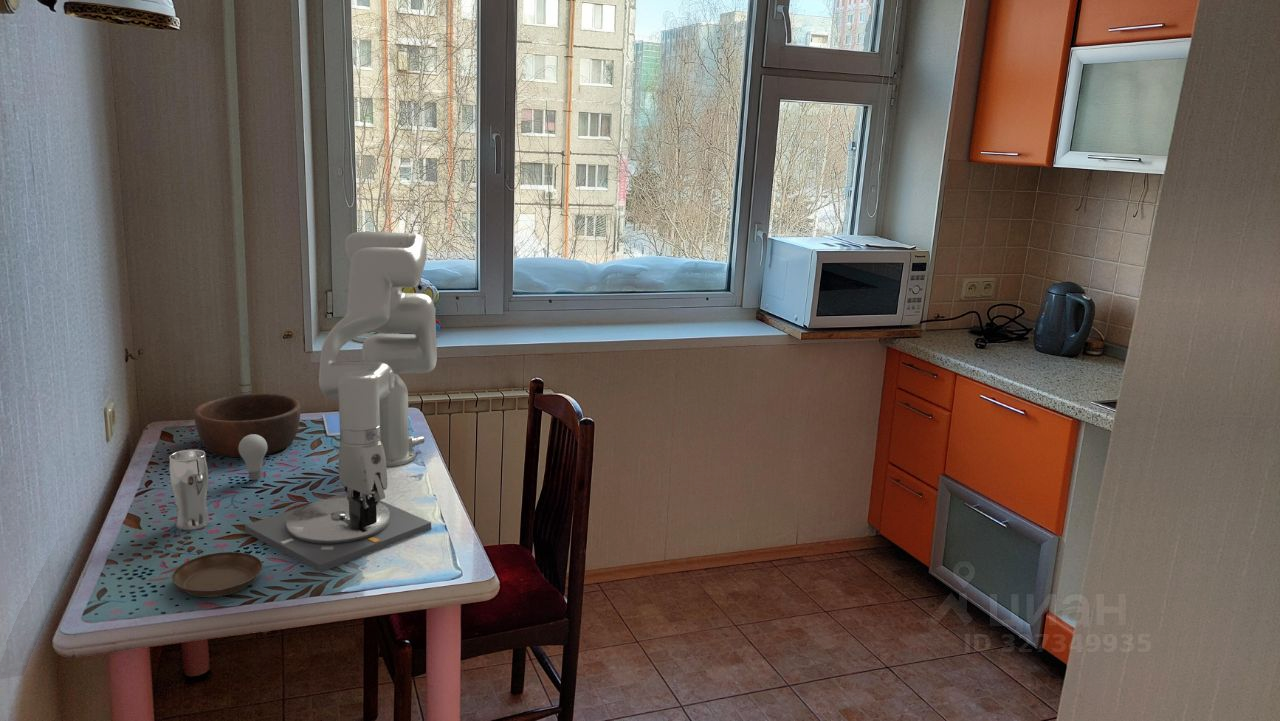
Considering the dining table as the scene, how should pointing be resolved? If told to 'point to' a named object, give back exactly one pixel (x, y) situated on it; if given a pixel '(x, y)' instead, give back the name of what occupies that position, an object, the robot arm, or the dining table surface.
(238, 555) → the saucer
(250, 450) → the lightbulb
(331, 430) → the tablet computer
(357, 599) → the dining table surface
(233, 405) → the wooden bowl
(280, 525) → the dial plate
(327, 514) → the dial
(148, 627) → the dining table surface
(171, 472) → the beer glass
